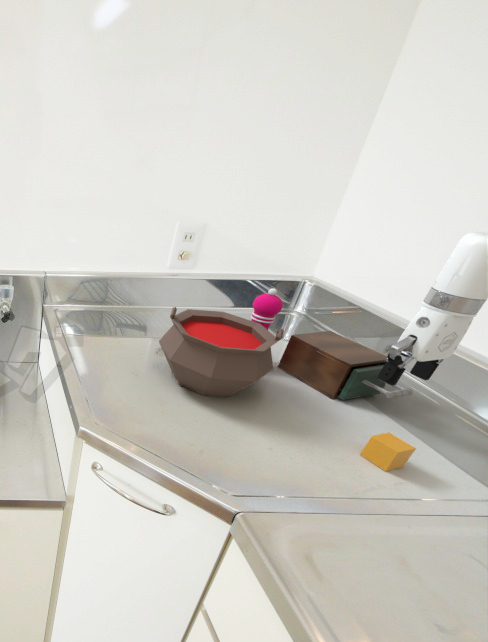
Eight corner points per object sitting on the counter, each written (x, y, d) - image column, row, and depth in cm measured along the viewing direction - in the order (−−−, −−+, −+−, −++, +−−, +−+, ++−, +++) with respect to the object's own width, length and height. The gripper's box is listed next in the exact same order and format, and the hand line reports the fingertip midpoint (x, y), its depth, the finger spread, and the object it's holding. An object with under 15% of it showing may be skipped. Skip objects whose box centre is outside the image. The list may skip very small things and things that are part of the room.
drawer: (410, 409, 91) (429, 381, 88) (372, 416, 88) (390, 387, 85) (324, 364, 108) (337, 338, 104) (290, 369, 105) (302, 343, 101)
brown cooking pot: (259, 371, 105) (284, 310, 97) (264, 423, 86) (297, 353, 78) (158, 347, 114) (174, 289, 106) (143, 389, 95) (161, 323, 87)
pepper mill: (233, 367, 106) (262, 291, 96) (226, 354, 112) (252, 281, 102) (264, 371, 105) (297, 295, 95) (255, 358, 111) (285, 285, 101)
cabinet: (372, 392, 98) (392, 358, 94) (332, 399, 95) (351, 364, 91) (314, 361, 110) (330, 330, 106) (277, 367, 107) (291, 334, 103)
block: (376, 450, 80) (389, 432, 78) (402, 467, 76) (416, 448, 74) (359, 454, 79) (371, 435, 77) (385, 471, 75) (398, 452, 73)
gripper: (445, 312, 73) (392, 394, 82) (507, 307, 78) (451, 384, 86) (398, 296, 79) (353, 374, 88) (458, 292, 84) (411, 366, 92)
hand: (402, 379), depth 87 cm, fingers open, 9 cm apart
